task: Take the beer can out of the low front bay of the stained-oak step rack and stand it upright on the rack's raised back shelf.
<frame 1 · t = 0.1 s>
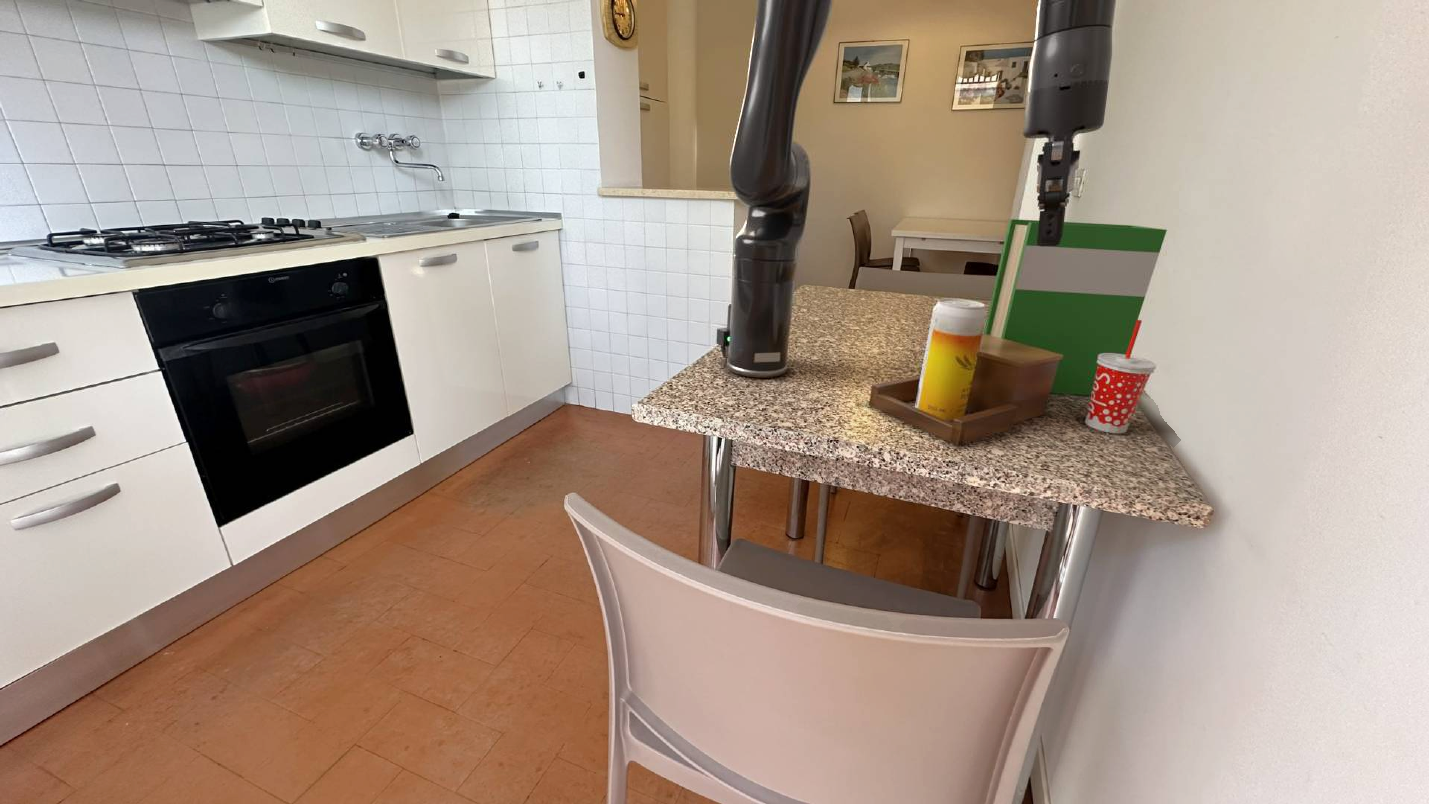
hand: (1049, 243, 66), 22 cm above the table, tool pointing down, fingers open, 8 cm apart
beer can: (937, 418, 75), resting in step rack
step rack: (964, 409, 77), on the table
hardback book: (1040, 385, 89), on the table
beverage cup: (1104, 427, 74), on the table
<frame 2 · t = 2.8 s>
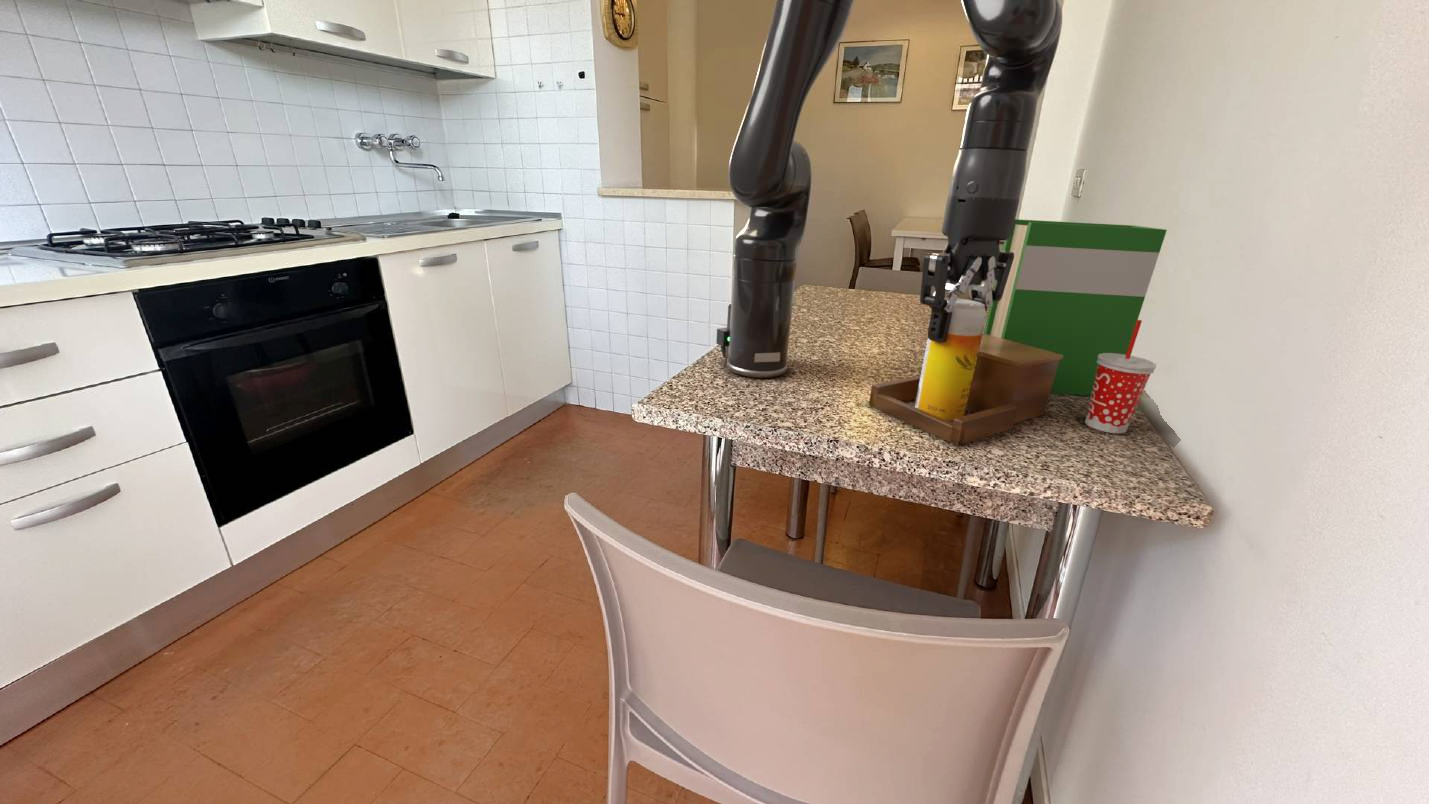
hand: (954, 337, 71), 11 cm above the table, tool pointing down, fingers closed on beer can, 6 cm apart
beer can: (937, 418, 75), resting in step rack, touching gripper
everything else where it was.
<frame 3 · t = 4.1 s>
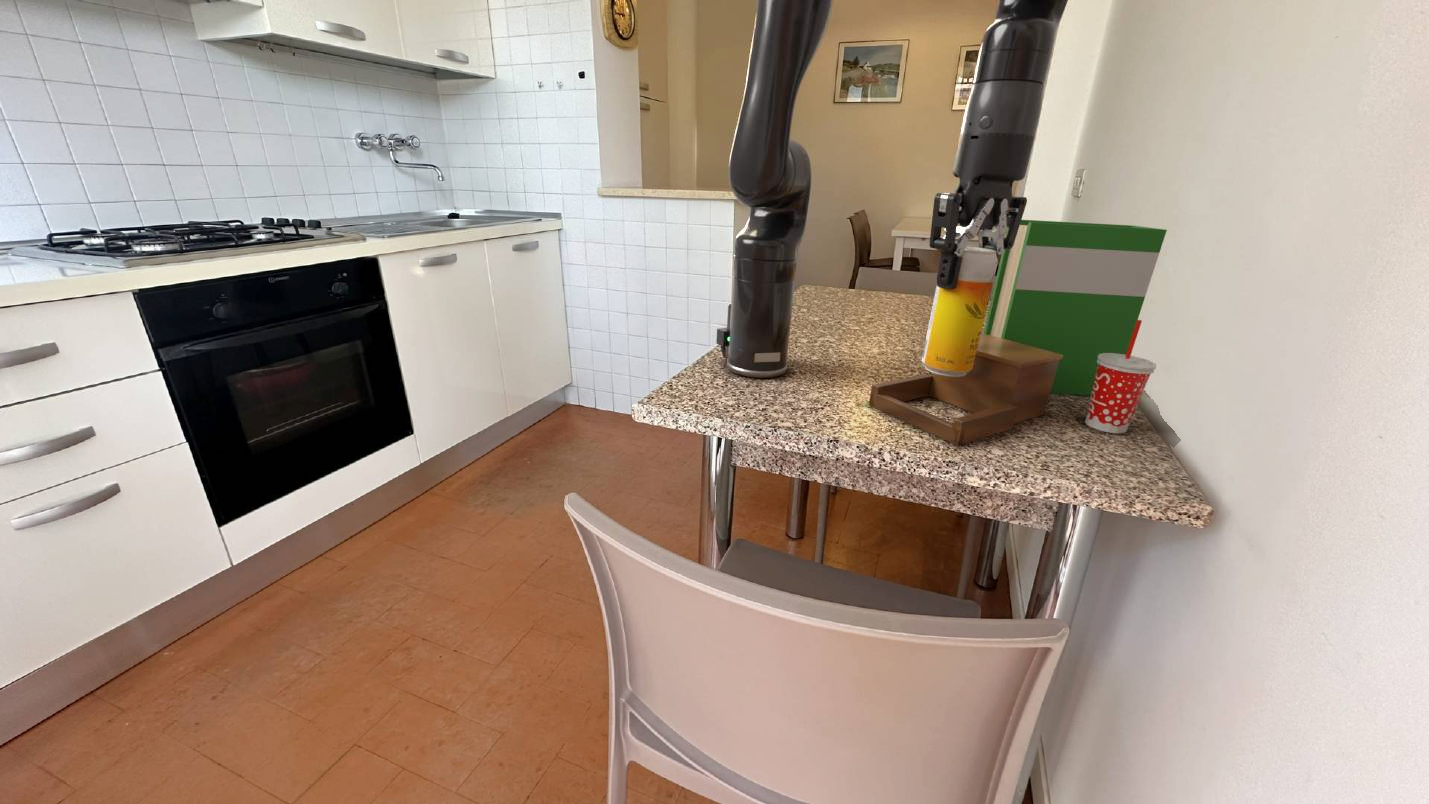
hand: (963, 286, 68), 17 cm above the table, tool pointing down, fingers closed on beer can, 6 cm apart
beer can: (944, 371, 73), point 6 cm above the table, touching gripper
everything else where it was.
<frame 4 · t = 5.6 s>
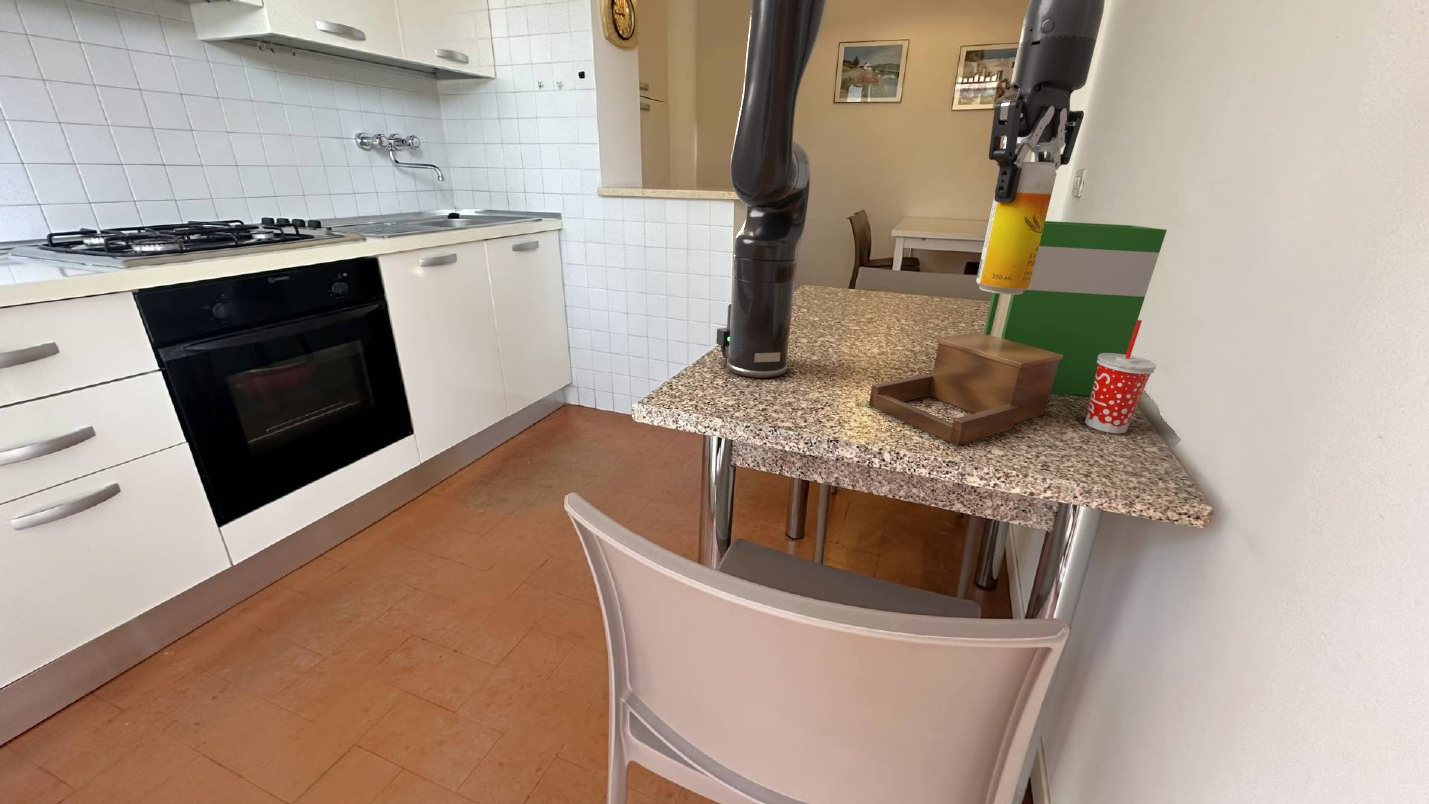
hand: (1020, 202, 68), 27 cm above the table, tool pointing down, fingers closed on beer can, 6 cm apart
beer can: (1000, 292, 72), point 16 cm above the table, touching gripper
everything else where it was.
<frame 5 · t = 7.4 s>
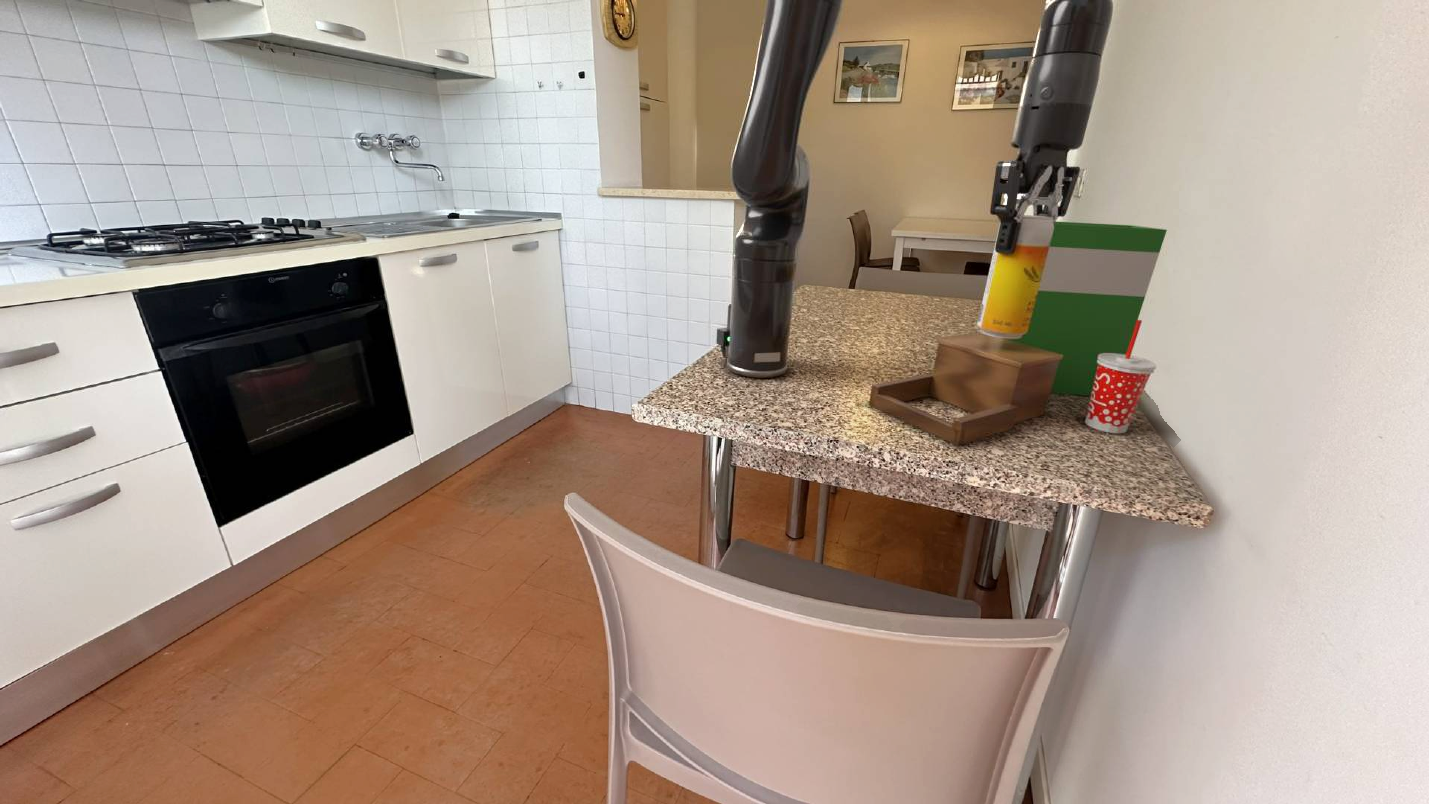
hand: (1019, 252, 72), 21 cm above the table, tool pointing down, fingers closed on beer can, 6 cm apart
beer can: (1000, 335, 76), point 10 cm above the table, touching gripper
everything else where it was.
when the fingers open (19 cm above the table, at t = 8.5 s): beer can stays where it is, resting on step rack.
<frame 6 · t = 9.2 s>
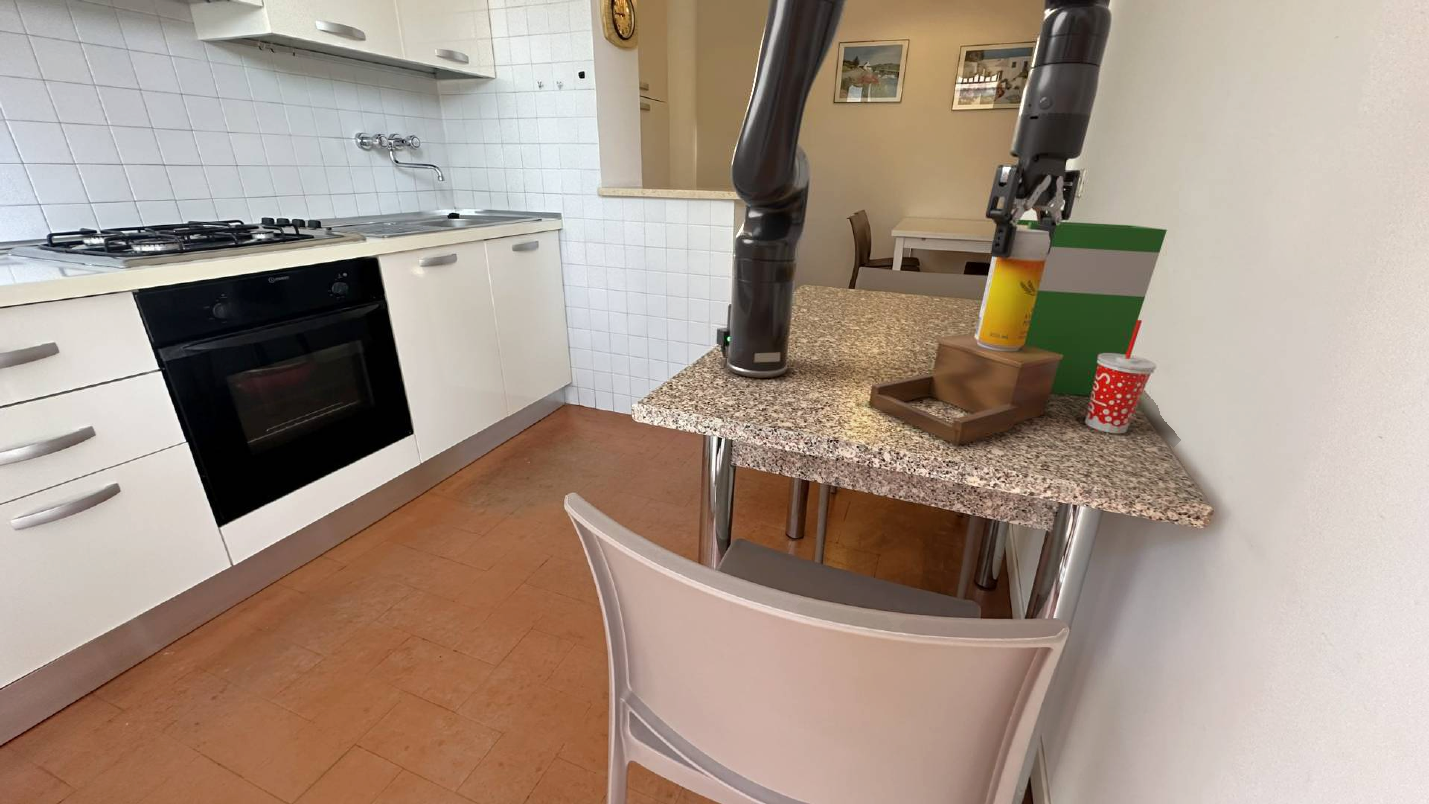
hand: (1019, 256, 72), 20 cm above the table, tool pointing down, fingers open, 8 cm apart
beer can: (997, 347, 77), point 8 cm above the table, touching step rack
everything else where it was.
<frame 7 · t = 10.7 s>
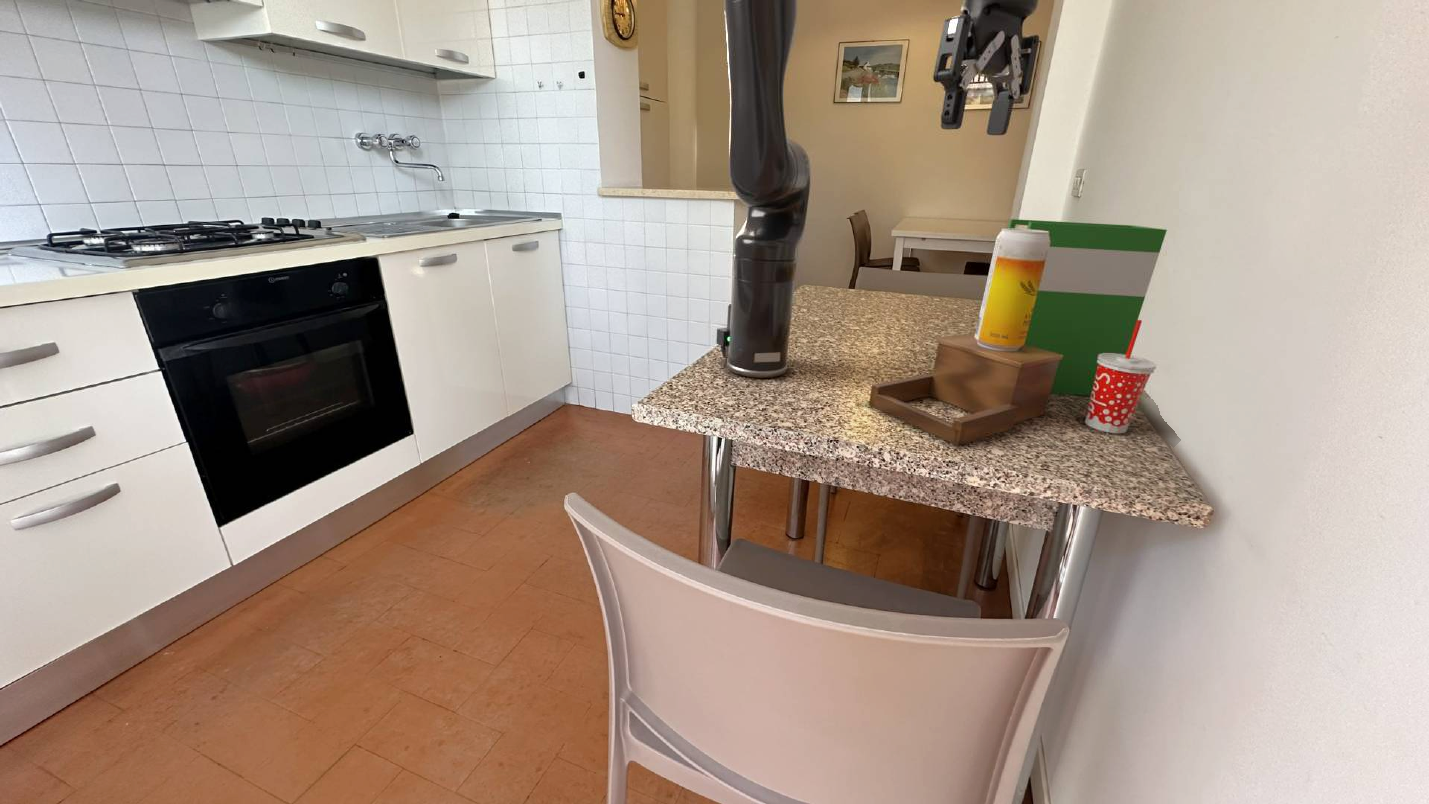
hand: (973, 132, 66), 34 cm above the table, tool pointing down, fingers open, 8 cm apart
nothing on the table moved.
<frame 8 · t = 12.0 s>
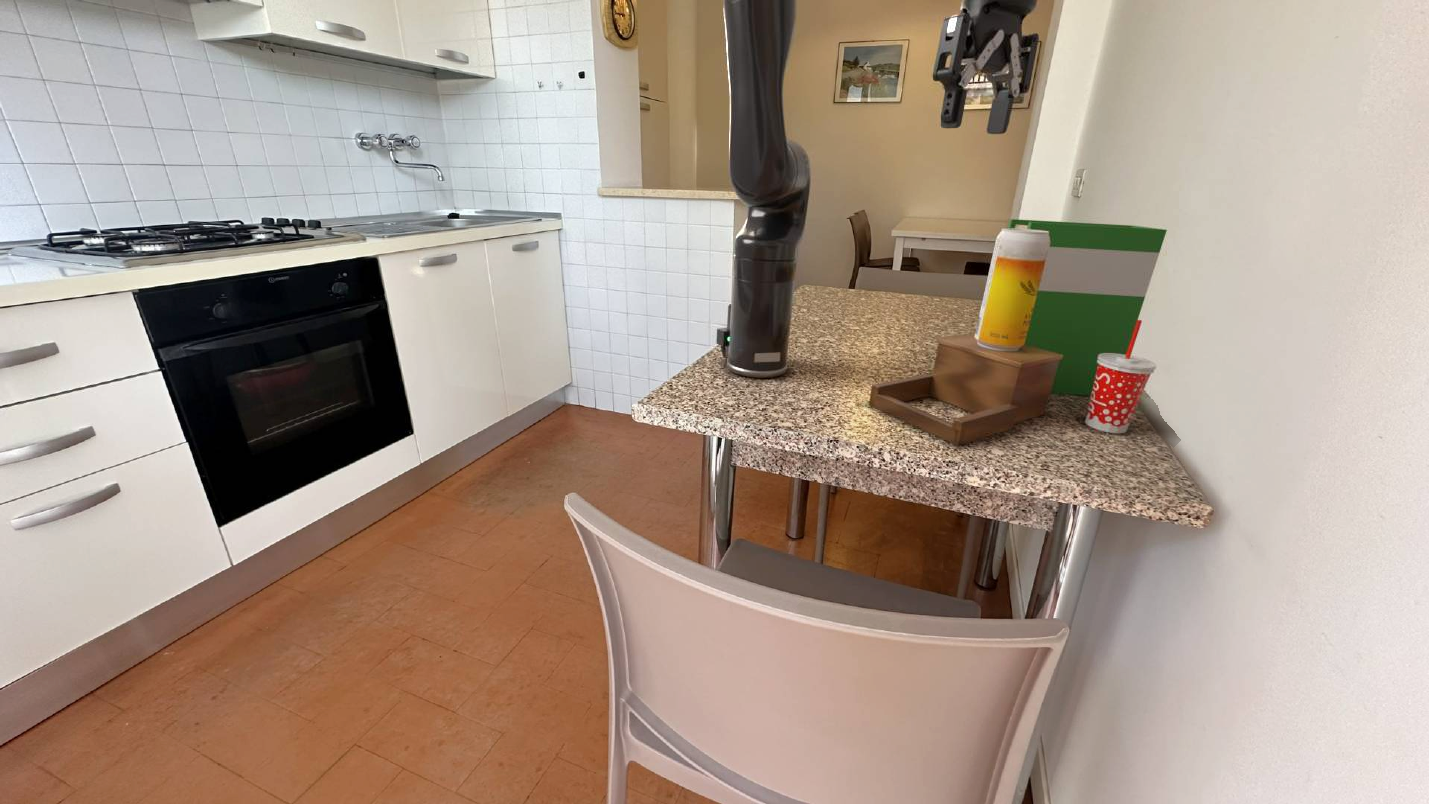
hand: (973, 130, 66), 34 cm above the table, tool pointing down, fingers open, 8 cm apart
nothing on the table moved.
at the end: beer can inside the target area (0.3 cm from its centre), point 8.2 cm above the table; beer can tilted 0°; the gripper is holding nothing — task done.
